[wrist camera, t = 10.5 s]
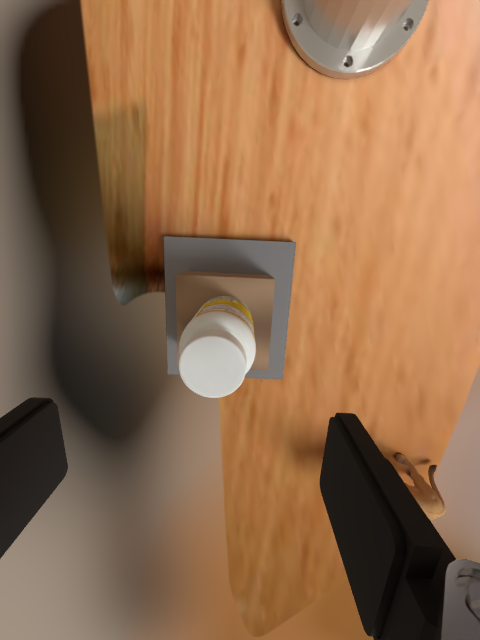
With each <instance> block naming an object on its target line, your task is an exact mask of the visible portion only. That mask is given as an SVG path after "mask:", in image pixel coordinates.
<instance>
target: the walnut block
mask: <svg viewBox="0 0 480 640" xmlns="http://www.w3.org/2000/svg"><path fill="white" fill-rule="evenodd" d="M274 289H275V279H274V278H273V277H272V276H271V275H265V274H243V273H222V272H200V271H186V272H183V273H179V274H176V315H177V366H179V359H180V353H179V343H180V338H181V335H182V333H183V331H184V329H185V328H186V326H187V325H188V323H189V322H190V321H191V320H192V319H193V317H194V316H195V315H196V313H197V312H198V311H199V309H200V308H201V307H202V306H203V305H204V304H205V303H206V302H207V301H208V300H210V299H212V298H215V297H219V296H229V297H233V298H236V299H238V300H240V301H241V302H242V303H244V304H245V305H246V306H247V308H248V309H249V311H250V313H251V315H252V319H253V327H254V335H255V343H256V353H255V358H254V362H253V364H252V366H251V368H250V369H249V370H266V371H268V364H269V352H270V339H271V327H272V314H273V301H274Z"/></svg>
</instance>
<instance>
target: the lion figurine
mask: <svg viewBox="0 0 480 640" xmlns="http://www.w3.org/2000/svg"><path fill="white" fill-rule="evenodd" d="M395 459H396V461H397V462H399V463H403V464H404V465H406V466H407V467H408V469H409V470H410V472H411V474H410V477H411V479H412V480H413V482H414V485H415V486H414V487H413V486H409V485H408V484H406V483H405V485H406V486H407V488H408V489H409V490H410V492H411V493H412V495H413V496H414V498H415V499H416V501H417V502H418V504H419V505H420V507H421V508H422V510H423V511H424V513H425V514H426V516H427V517H428V518H429V519H435V518H438V517H439V516H441V515H443V514H444V513H445V504H444V501H443V499H442V497H441V495H440V493H439V491H438V489H437V487H436V484H435V482H434V478H433V474H434V472H435V470H436V467H437V465H431V466H430V467H429V470H428V474H429V480H430V483H431V486H432V488H431V487H430V486H429V485H428V484H427V483H426V482H425V480H424V478H423V477H422V476H421V475H420V474H418V472H417V470H416V468H415V467H414V466H413V465H412V464H411V463H410V462H409V461H408V460H407V458H406V457H405V456H404V455H402V454H397V455H396V458H395Z"/></svg>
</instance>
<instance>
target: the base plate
mask: <svg viewBox="0 0 480 640" xmlns="http://www.w3.org/2000/svg"><path fill="white" fill-rule="evenodd" d="M295 246H296V242H277V241H255V240H234V239H212V238H191V237H169V236H164V265H165V297H166V331H167V360H168V361H167V364H168V374H178V375H180V372H179V366H177V315H176V274H179V273H183V272H186V271H200V272H222V273H243V274H265V275H271V276H272V277H273V278H274V279H275V289H274V301H273V314H272V327H271V339H270V352H269V364H268V371H266V370H249V371H248V372H247V373H246V374H245V377H244V378H262V379H283V370H284V360H285V349H286V339H287V329H288V318H289V308H290V298H291V287H292V277H293V266H294V256H295Z"/></svg>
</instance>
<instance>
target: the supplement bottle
mask: <svg viewBox="0 0 480 640" xmlns="http://www.w3.org/2000/svg"><path fill="white" fill-rule="evenodd" d="M179 353H180V359H179V372H180V375H181V378H182V380H183V381H184V383H185V384H186V385H187V386H188V388H189V389H191V390H192V391H193V392H195V393H197V394H199V395H202V396H204V397H210V398H218V397H223V396H226V395H229V394H231V393H232V392H234V391H235V390H236V389H237V388H238V387H239V386H240V385H241V383H242V382H243V380H244V377H245V374H246V373H247V372H248V371H249V369H250V368H251V366H252V364H253V362H254V358H255V353H256V343H255V335H254V327H253V319H252V315H251V313H250V311H249V309H248V308H247V306H246V305H245V304H244V303H242V302H241V301H240V300H238V299H236V298H233V297H229V296H219V297H215V298H212V299H210V300H208V301H207V302H206V303H205V304H204V305H203V306H202V307H201V308H200V309H199V311H198V312H197V313H196V315H195V316H194V317H193V319H192V320H191V321H190V322H189V323H188V325H187V326H186V328H185V329H184V331H183V333H182V335H181V338H180V343H179Z"/></svg>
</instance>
